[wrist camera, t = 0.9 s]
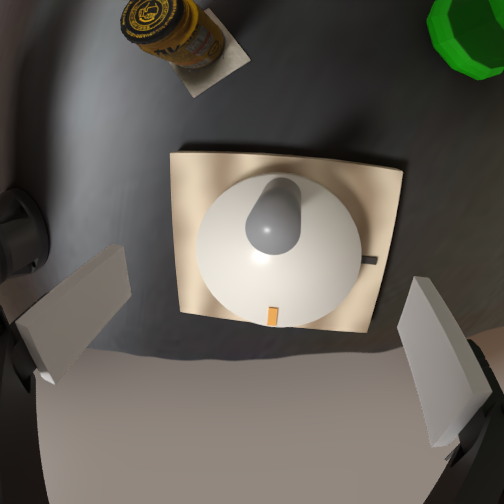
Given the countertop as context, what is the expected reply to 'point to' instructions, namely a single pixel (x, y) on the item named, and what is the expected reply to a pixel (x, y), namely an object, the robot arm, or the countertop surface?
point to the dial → (278, 249)
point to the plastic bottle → (469, 35)
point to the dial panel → (319, 169)
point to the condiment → (184, 40)
